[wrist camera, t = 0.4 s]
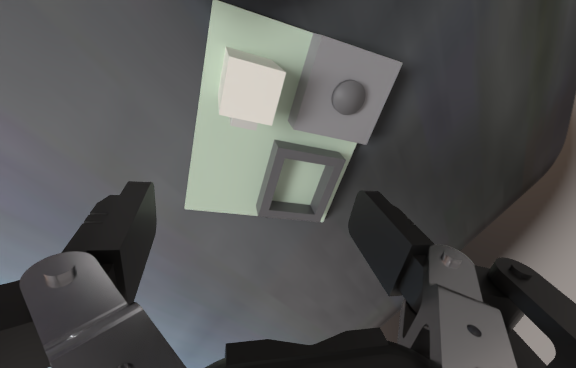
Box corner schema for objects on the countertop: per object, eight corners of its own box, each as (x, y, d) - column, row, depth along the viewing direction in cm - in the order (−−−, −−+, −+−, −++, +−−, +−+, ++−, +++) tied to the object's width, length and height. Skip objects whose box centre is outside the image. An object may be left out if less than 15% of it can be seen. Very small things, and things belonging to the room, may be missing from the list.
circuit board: (213, -1, 22) (212, -3, 19) (387, 58, 28) (411, 65, 24) (185, 203, 31) (181, 227, 28) (320, 217, 37) (331, 238, 33)
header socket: (274, 139, 28) (278, 147, 27) (339, 151, 31) (346, 159, 29) (255, 205, 32) (258, 216, 31) (314, 212, 35) (319, 222, 33)
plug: (225, 46, 23) (229, 56, 18) (271, 59, 24) (286, 72, 20) (216, 102, 25) (217, 125, 20) (258, 112, 27) (269, 135, 22)
